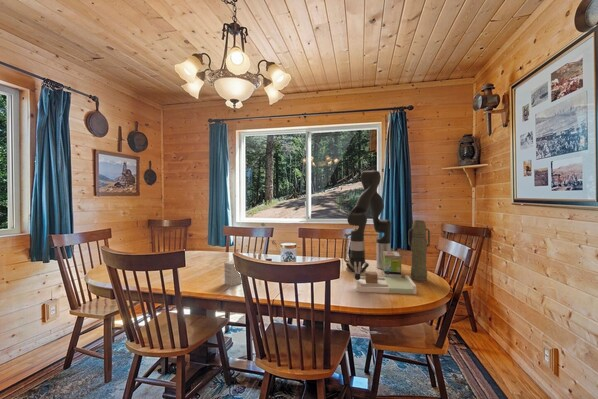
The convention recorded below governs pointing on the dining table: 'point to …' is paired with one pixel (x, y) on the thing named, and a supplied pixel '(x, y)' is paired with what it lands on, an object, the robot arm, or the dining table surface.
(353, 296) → the dining table surface
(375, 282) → the walnut block
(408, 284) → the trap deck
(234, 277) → the supplement box
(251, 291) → the dining table surface
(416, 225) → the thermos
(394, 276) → the tea box
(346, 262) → the lantern
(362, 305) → the dining table surface
